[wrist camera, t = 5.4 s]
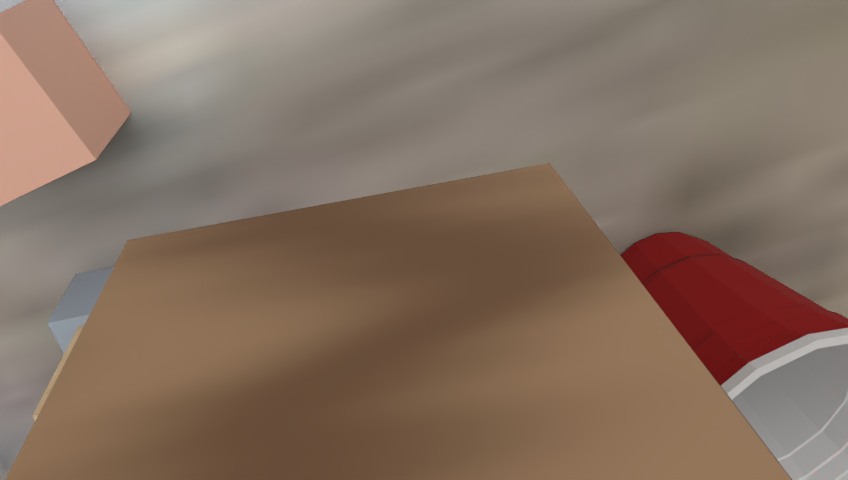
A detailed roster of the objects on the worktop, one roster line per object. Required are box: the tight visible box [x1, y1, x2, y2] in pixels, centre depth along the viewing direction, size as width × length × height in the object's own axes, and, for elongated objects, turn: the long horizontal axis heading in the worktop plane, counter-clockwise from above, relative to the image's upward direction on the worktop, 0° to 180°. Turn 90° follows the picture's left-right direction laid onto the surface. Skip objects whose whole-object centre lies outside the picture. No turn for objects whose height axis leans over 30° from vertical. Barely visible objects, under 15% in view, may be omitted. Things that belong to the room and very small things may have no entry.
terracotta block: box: [0, 0, 131, 206], centre depth 24 cm, size 5×5×5 cm
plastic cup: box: [621, 232, 848, 480], centre depth 29 cm, size 11×11×12 cm
